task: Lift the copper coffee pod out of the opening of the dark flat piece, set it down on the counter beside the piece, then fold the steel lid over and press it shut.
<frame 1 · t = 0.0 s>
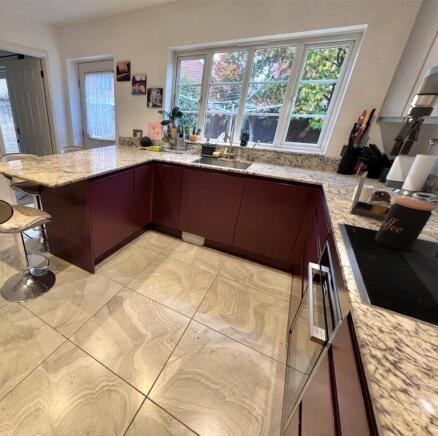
hand: (398, 155, 113), 30 cm above the worktop, tool pointing down, fingers open, 13 cm apart
coffee pod: (376, 214, 121), point 1 cm above the worktop, touching dark flat piece
pottery mug: (377, 202, 141), on the worktop
white cup: (358, 202, 141), on the worktop
brew lid: (359, 189, 123), point 12 cm above the worktop, hinge at 95.0°
coffee jar: (390, 244, 93), on the worktop
dark flat piece: (370, 214, 122), on the worktop
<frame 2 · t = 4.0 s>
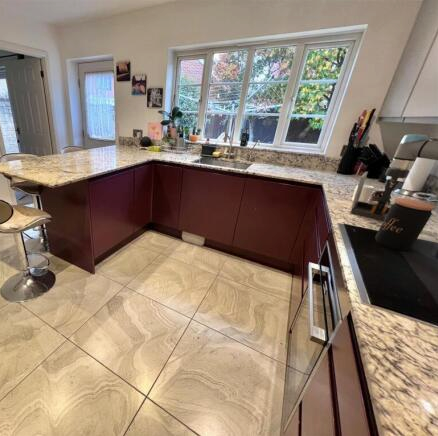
hand: (377, 212, 120), 2 cm above the worktop, tool pointing down, fingers closed on coffee pod, 6 cm apart
coffee pod: (376, 214, 121), point 1 cm above the worktop, touching dark flat piece, gripper
everything else where it was.
when the fingers open (1 cm above the worktop, at t = 11.1 s): coffee pod stays where it is, on the worktop.
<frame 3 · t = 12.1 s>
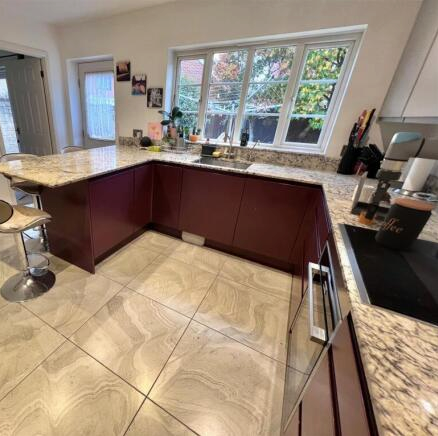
hand: (369, 215, 109), 5 cm above the worktop, tool pointing down, fingers open, 13 cm apart
coffee pod: (364, 223, 111), on the worktop
everything else where it was.
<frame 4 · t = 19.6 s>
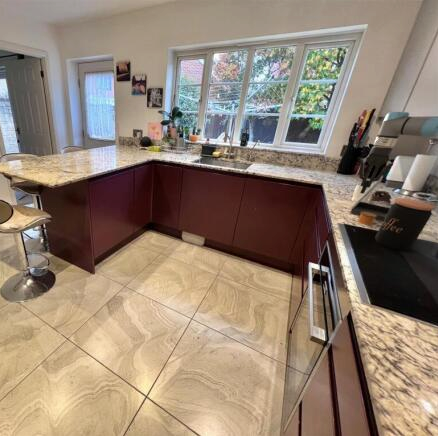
hand: (362, 192, 122), 10 cm above the worktop, tool pointing down, fingers closed
brew lid: (367, 191, 121), point 11 cm above the worktop, hinge at 71.0°, touching gripper
everything else where it was.
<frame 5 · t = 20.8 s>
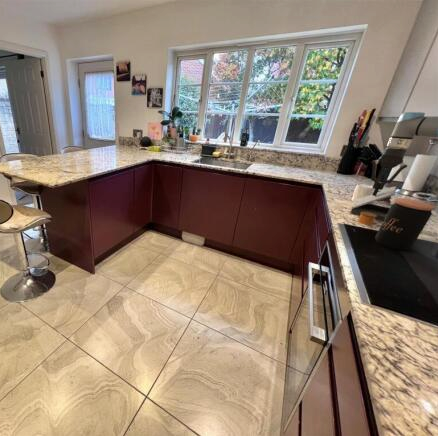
hand: (374, 195, 119), 10 cm above the worktop, tool pointing down, fingers closed
brew lid: (374, 197, 120), point 9 cm above the worktop, hinge at 42.4°
everything else where it was.
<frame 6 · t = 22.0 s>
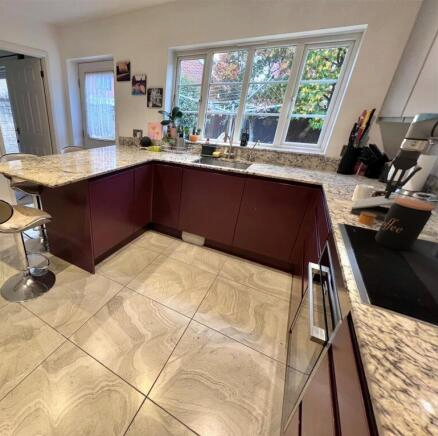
hand: (386, 197, 116), 10 cm above the worktop, tool pointing down, fingers closed
brew lid: (375, 201, 120), point 7 cm above the worktop, hinge at 27.1°
everything else where it was.
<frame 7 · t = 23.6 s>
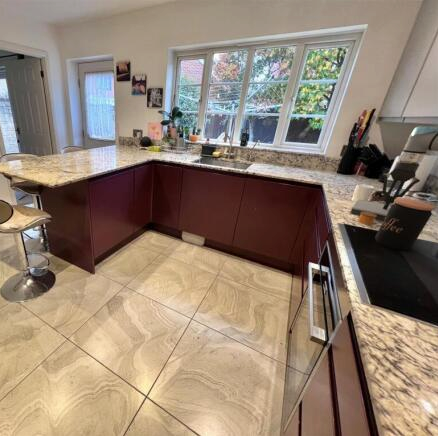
hand: (384, 208, 118), 5 cm above the worktop, tool pointing down, fingers closed
brew lid: (375, 207, 120), point 4 cm above the worktop, hinge at 1.8°, touching gripper
everything else where it was.
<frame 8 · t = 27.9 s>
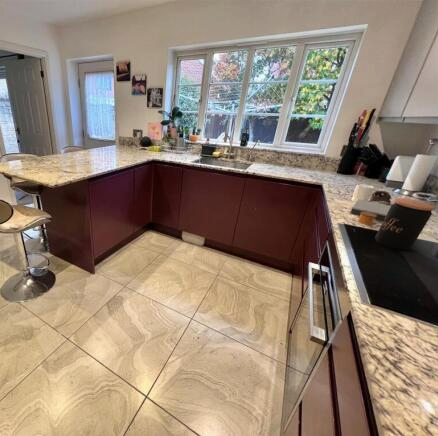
brew lid: (375, 207, 120), point 4 cm above the worktop, hinge at 1.5°
everything else where it was.
at the end: coffee pod inside the target area (0.2 cm from its centre), on the worktop; coffee pod tilted 0°; brew lid at +2° (first picture: +95°) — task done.
